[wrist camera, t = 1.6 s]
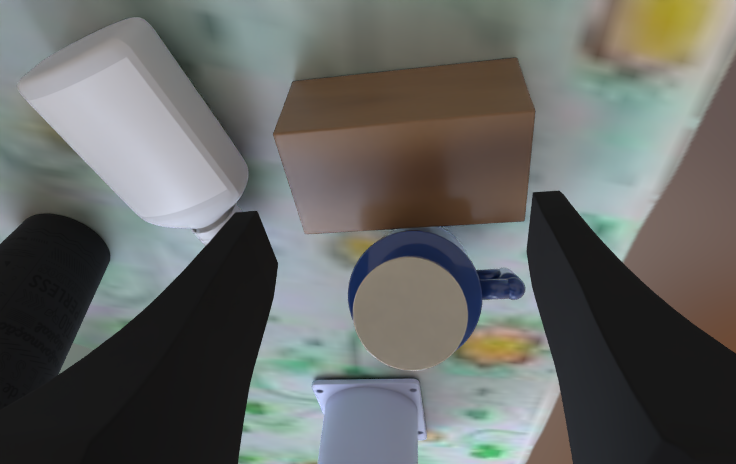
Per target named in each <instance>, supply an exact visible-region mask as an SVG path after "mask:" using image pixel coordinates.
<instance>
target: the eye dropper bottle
mask: <svg viewBox="0 0 736 464" xmlns="http://www.w3.org/2000/svg"><path fill="white" fill-rule="evenodd" d="M17 88H18V91H19V92H20V94H21V95H22V96H23V97H24V99H25V100H26V101H27V102H28V103H29V104H30V105H31V106H32V107H33V108H34V109H35V110H36V111H37V112H38V113H39V114H40V115H41V116H42V117H43V118H44V120H45V121H46V122H47V123H48V124H49V125H50V126H51V127H52V128H53V129H54V130H55V131H56V132H57V133H58V134H59V135H60V136H61V137H62V138H63V139H64V140H65V141H66V142H67V143H68V144H69V145H70V147H71V148H72V149H73V150H74V151H75V152H76V153H77V154H78V155H79V156H80V157H81V158H82V159H83V160H84V161H85V162H86V163H87V164H88V165H89V166H90V167H91V168H92V169H93V170H94V171H95V172H96V173H97V174H98V175H99V176H100V178H101V179H102V180H103V181H104V182H105V183H106V184H107V185H108V186H109V187H110V188H111V189H112V190H113V191H114V192H115V193H116V194H117V195H118V196H119V197H120V198H121V199H122V200H123V201H124V202H125V203H126V204H127V205H128V206H129V207H130V208H131V209H132V210H133V211H134V212H135V213H136V214H137V215H138V216H139V217H140V218H142V219H143V220H144V221H146V222H149V223H151V224H154V225H158V226H162V227H169V228H191V230H192V232H193V233H194V234H195V235H196V236H197V237H198V238H199V240H200V241H201V242H202V243H203V244H204V245H205V246H206V245H207V244H208V243H209V242H210V241H211V239H212V238H213V237H214V236H215V235H216V234H217V232H218V231H219V230H220V229H221V228H222V227H223V226H224V224H225V223H226V222H227V221H228V220H229V219H230V218H231V217H232V216H233V214H234V213H235V212H243V211H242V210H241V209H240V207H239V206H238V205H237V204H236V202H237V201H238V200H239V199H240V197H241V196H242V194H243V192H244V190H245V187H246V185H247V182H248V177H249V172H248V166H247V164H246V162H245V160H244V159H243V157H242V156H241V154H240V153H239V151H238V150H237V148H236V147H235V145H234V144H233V142H232V141H231V139H230V138H229V136H228V135H227V133H226V132H225V130H224V129H223V128H222V126H221V125H220V123H219V122H218V120H217V119H216V117H215V116H214V115H213V113H212V112H211V110H210V109H209V107H208V106H207V104H206V103H205V101H204V100H203V99H202V97H201V96H200V94H199V93H198V91H197V90H196V89H195V87H194V86H193V84H192V83H191V81H190V80H189V79H188V77H187V76H186V74H185V73H184V71H183V70H182V68H181V67H180V66H179V64H178V63H177V61H176V60H175V58H174V57H173V56H172V54H171V53H170V51H169V50H168V48H167V47H166V46H165V44H164V43H163V41H162V40H161V38H160V37H159V36H158V34H157V33H156V31H155V30H154V29H153V27H152V26H151V25H150V24H149V23H148V22H147V21H146V20H144V19H143V18H140V17H131V18H127V19H124V20H122V21H119V22H116V23H114V24H111V25H109V26H107V27H104V28H102V29H100V30H98V31H96V32H94V33H91V34H89V35H87V36H85V37H83V38H81V39H80V40H78V41H76V42H74V43H72V44H70V45H68V46H66V47H65V48H63V49H61V50H59V51H57V52H56V53H54V54H52V55H50V56H49V57H47V58H46V59H44V60H43V61H41V62H40V63H39V64H38V65H36V66H35V67H34V68H33V69H32V70H30V71H29V72H28V73H27V74H25V75H24V76H23V77H22V78H21V79H20V80H19V81H18V83H17Z"/></svg>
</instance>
